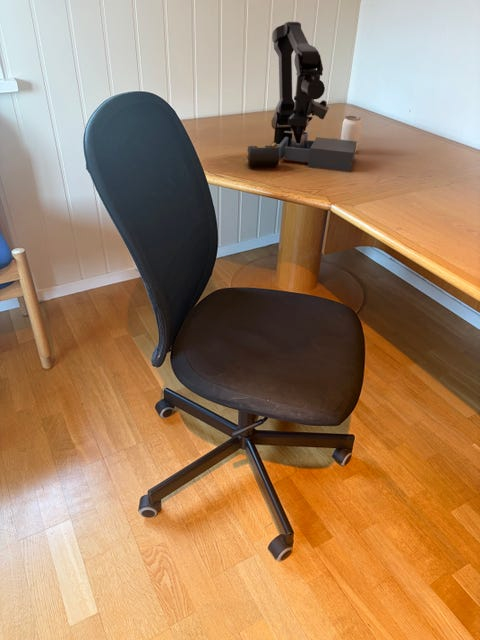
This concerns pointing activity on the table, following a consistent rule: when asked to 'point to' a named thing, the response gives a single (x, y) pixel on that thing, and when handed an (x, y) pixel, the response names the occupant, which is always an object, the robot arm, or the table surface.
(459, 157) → the table surface
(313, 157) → the cabinet
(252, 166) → the end cap
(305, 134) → the measuring cup
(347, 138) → the can
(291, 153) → the drawer
